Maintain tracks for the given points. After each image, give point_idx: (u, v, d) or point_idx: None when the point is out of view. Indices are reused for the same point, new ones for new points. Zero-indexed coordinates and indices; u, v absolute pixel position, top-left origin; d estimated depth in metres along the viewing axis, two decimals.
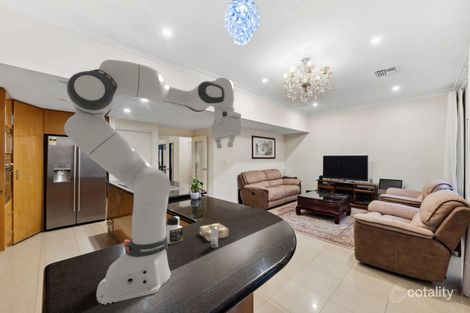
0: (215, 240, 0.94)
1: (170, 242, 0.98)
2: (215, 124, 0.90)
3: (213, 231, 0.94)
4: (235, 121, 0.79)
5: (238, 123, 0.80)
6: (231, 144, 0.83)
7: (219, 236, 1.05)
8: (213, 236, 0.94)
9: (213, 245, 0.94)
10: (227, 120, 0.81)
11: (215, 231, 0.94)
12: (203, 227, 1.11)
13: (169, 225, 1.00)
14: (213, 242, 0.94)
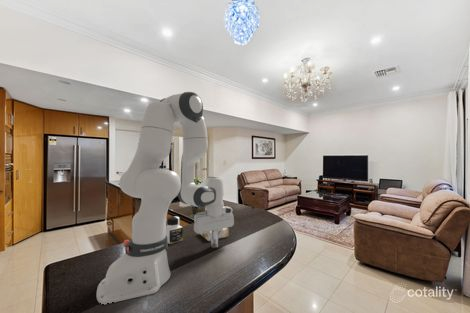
0: (215, 240, 0.94)
1: (170, 242, 0.98)
2: (206, 218, 0.92)
3: (213, 231, 0.94)
4: None
5: None
6: None
7: None
8: (213, 236, 0.94)
9: (213, 245, 0.94)
10: (228, 215, 0.97)
11: (215, 231, 0.94)
12: None
13: (169, 225, 1.00)
14: (213, 242, 0.94)
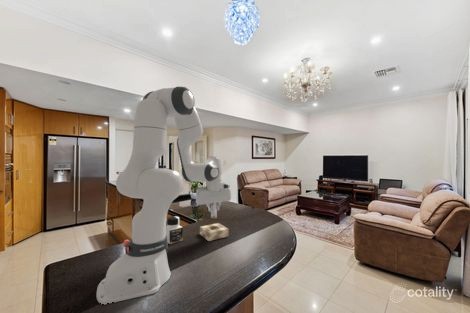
0: (214, 212, 1.09)
1: (170, 242, 0.98)
2: (207, 192, 1.06)
3: (212, 204, 1.09)
4: None
5: None
6: None
7: (219, 236, 1.05)
8: (212, 208, 1.09)
9: (212, 216, 1.09)
10: (225, 190, 1.12)
11: (214, 204, 1.09)
12: (203, 227, 1.11)
13: (169, 225, 1.00)
14: (212, 213, 1.09)
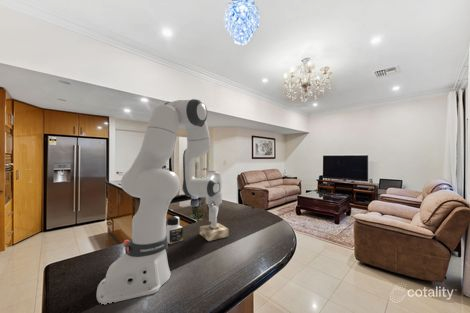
0: None
1: (170, 242, 0.98)
2: (216, 207, 1.05)
3: (215, 221, 1.09)
4: None
5: None
6: None
7: (219, 236, 1.05)
8: (215, 226, 1.09)
9: None
10: None
11: (216, 221, 1.10)
12: (203, 227, 1.11)
13: (169, 225, 1.00)
14: None
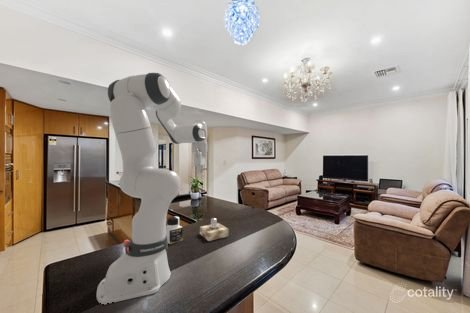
0: None
1: (170, 242, 0.98)
2: (201, 154, 1.10)
3: (215, 221, 1.09)
4: None
5: None
6: None
7: (219, 236, 1.05)
8: (215, 226, 1.09)
9: None
10: (205, 154, 1.21)
11: (216, 221, 1.10)
12: (203, 227, 1.11)
13: (169, 225, 1.00)
14: None
